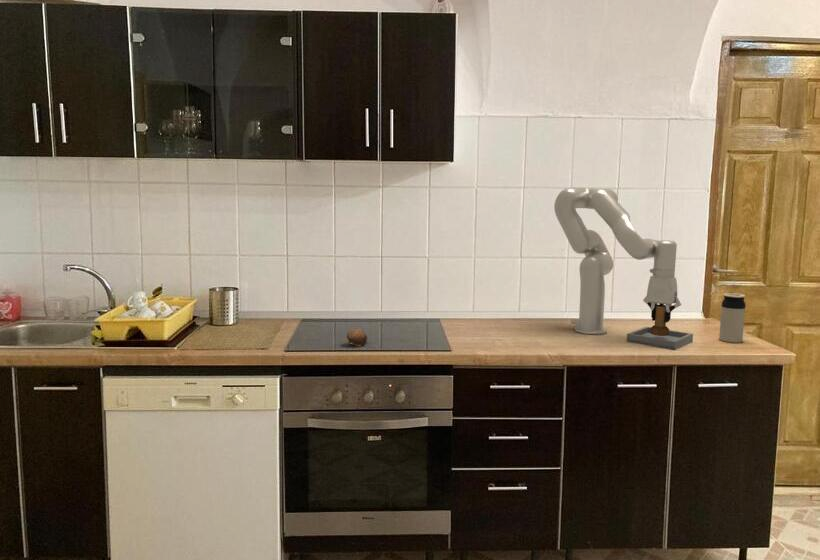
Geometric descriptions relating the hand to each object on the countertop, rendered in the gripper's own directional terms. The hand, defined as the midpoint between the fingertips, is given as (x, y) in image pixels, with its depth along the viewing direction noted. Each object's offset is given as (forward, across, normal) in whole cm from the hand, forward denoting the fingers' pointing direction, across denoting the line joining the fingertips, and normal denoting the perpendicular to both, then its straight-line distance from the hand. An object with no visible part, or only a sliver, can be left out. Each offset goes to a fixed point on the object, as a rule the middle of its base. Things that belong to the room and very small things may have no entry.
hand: (660, 320), depth 232 cm
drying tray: (+8, 0, 0) cm, 8 cm away
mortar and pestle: (+5, 0, 0) cm, 5 cm away
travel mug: (+8, +19, +21) cm, 30 cm away
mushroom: (+9, -78, -85) cm, 116 cm away
